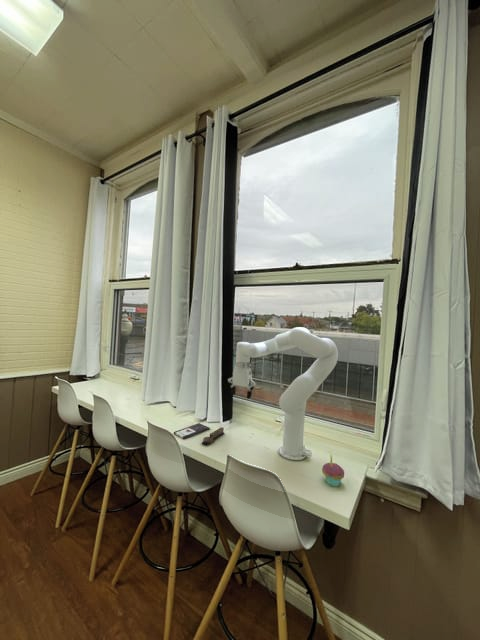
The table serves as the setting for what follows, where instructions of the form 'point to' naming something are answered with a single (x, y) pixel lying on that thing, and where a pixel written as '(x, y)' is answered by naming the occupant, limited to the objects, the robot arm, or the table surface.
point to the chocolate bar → (191, 430)
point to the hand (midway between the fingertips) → (241, 396)
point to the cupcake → (333, 473)
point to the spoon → (213, 435)
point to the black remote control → (213, 439)
